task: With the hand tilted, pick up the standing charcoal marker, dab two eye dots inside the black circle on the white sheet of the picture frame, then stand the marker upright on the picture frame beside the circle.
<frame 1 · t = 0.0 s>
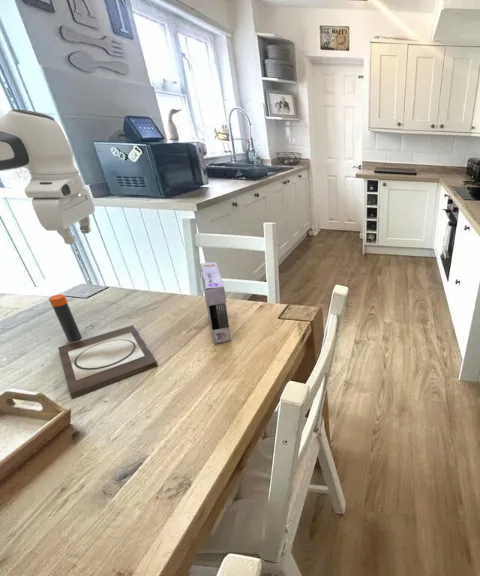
hand: (79, 237, 87), 25 cm above the table, tool pointing down, fingers open, 8 cm apart
picture frame: (108, 358, 82), on the table
marker: (75, 339, 88), on the table
cake pan box: (220, 328, 97), on the table
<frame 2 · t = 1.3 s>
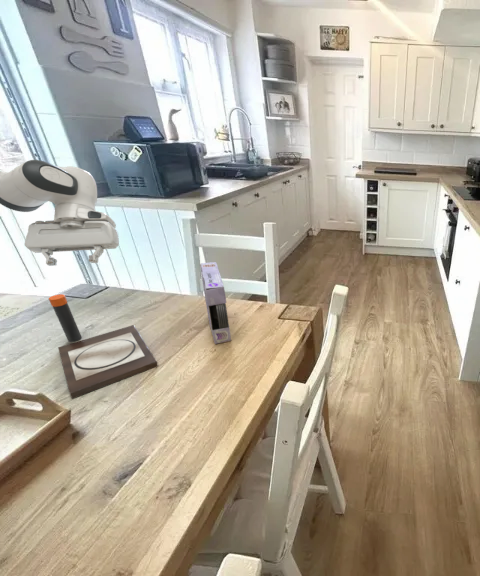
hand: (72, 263, 90), 17 cm above the table, tool tilted 45°, fingers open, 8 cm apart
nothing on the table moved.
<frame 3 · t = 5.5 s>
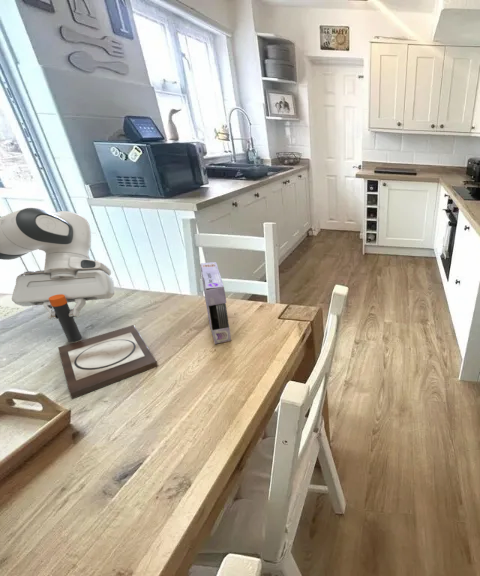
hand: (64, 317, 84), 7 cm above the table, tool tilted 45°, fingers closed on marker, 3 cm apart
marker: (75, 339, 88), on the table, touching gripper
everything else where it was.
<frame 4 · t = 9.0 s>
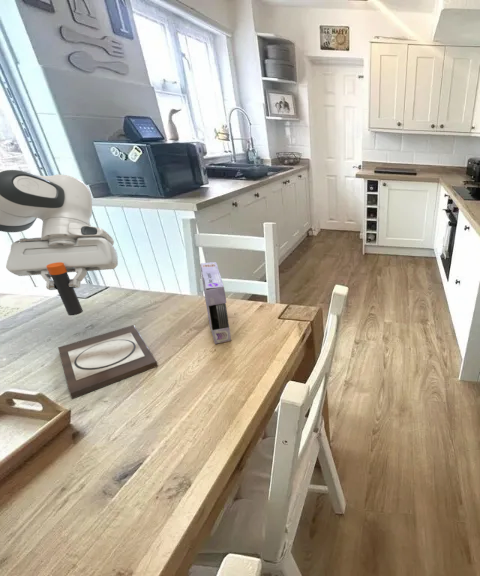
hand: (63, 288, 77), 18 cm above the table, tool tilted 45°, fingers closed on marker, 3 cm apart
marker: (75, 312, 81), point 10 cm above the table, touching gripper
everything else where it was.
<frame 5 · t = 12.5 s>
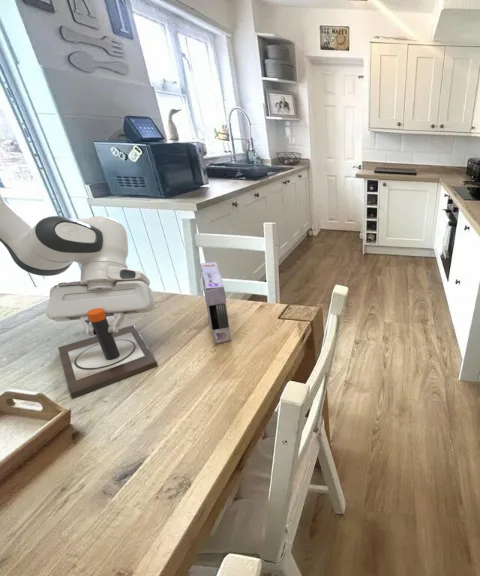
hand: (102, 334, 76), 9 cm above the table, tool tilted 45°, fingers closed on marker, 3 cm apart
marker: (112, 356, 80), point 2 cm above the table, touching gripper
everything else where it was.
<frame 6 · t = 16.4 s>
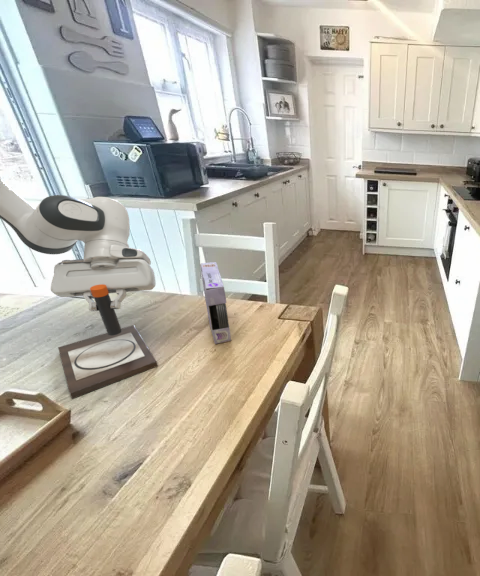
hand: (105, 309, 79), 13 cm above the table, tool tilted 45°, fingers closed on marker, 3 cm apart
marker: (114, 332, 82), point 6 cm above the table, touching gripper
everything else where it was.
when the fingers open (9 cm above the table, at t = 19.4 s): marker stays where it is, resting on picture frame.
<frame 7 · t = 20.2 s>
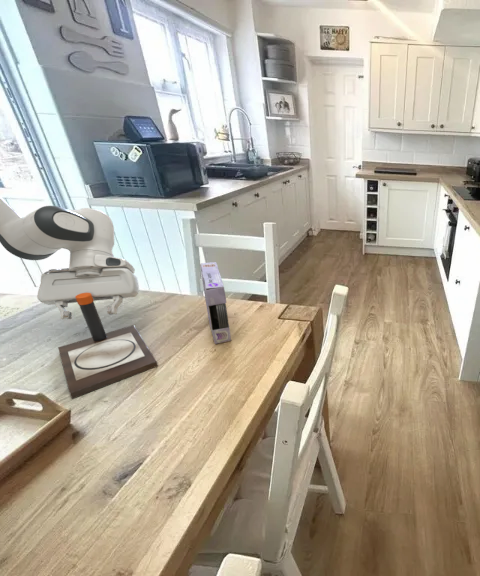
hand: (89, 316, 83), 9 cm above the table, tool tilted 45°, fingers open, 8 cm apart
marker: (100, 338, 86), point 1 cm above the table, touching picture frame
everything else where it was.
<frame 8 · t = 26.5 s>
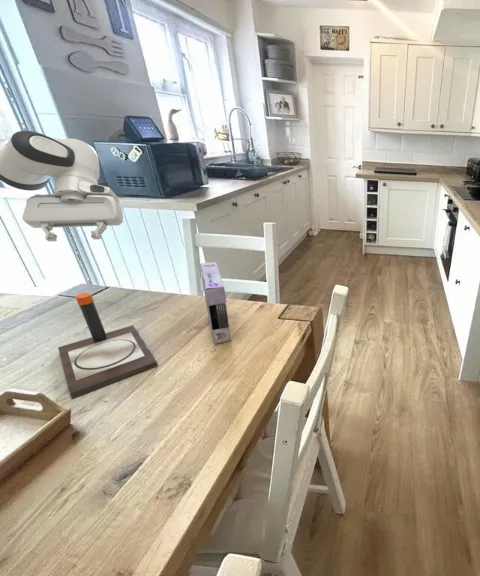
hand: (73, 239, 85), 25 cm above the table, tool tilted 45°, fingers open, 8 cm apart
nothing on the table moved.
at the end: marker 0.2 cm from the target spot, point 1.5 cm above the table; marker tilted 0°; the gripper is holding nothing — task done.
